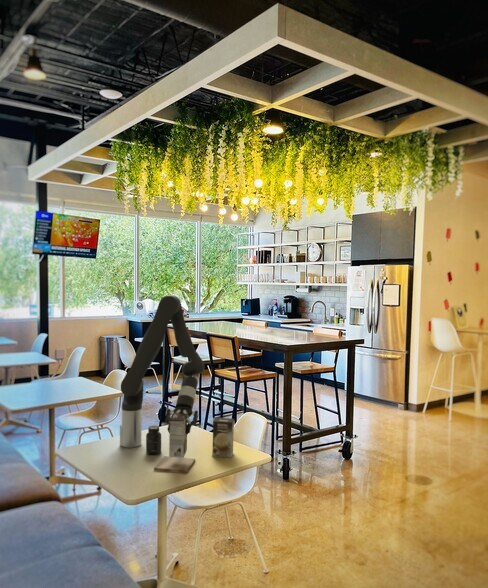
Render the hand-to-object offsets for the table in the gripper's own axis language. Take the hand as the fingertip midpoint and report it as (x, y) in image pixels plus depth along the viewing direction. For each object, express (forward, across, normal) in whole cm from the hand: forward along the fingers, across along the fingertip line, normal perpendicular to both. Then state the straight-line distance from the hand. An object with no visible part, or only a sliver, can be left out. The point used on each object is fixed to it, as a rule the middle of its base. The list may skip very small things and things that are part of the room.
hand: (178, 433), depth 202 cm
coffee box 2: (-2, +16, +22) cm, 27 cm away
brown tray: (+10, -1, +10) cm, 14 cm away
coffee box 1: (+6, 0, +6) cm, 9 cm away
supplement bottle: (+2, -15, +18) cm, 24 cm away
